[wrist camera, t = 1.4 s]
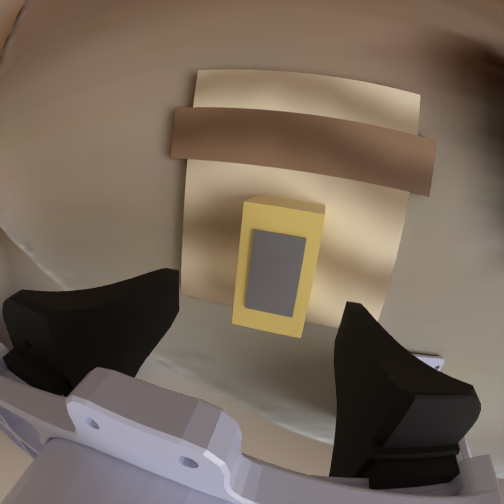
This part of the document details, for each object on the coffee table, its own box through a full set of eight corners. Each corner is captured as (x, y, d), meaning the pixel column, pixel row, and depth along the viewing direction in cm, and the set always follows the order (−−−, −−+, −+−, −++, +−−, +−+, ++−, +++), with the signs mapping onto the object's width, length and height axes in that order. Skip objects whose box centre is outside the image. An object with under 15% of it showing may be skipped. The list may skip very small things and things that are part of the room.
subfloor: (389, 329, 22) (391, 336, 21) (170, 285, 26) (165, 290, 25) (434, 103, 16) (439, 100, 15) (186, 74, 20) (180, 71, 19)
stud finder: (306, 310, 22) (300, 340, 18) (247, 298, 23) (230, 324, 19) (325, 205, 20) (325, 214, 16) (259, 194, 21) (243, 201, 17)
